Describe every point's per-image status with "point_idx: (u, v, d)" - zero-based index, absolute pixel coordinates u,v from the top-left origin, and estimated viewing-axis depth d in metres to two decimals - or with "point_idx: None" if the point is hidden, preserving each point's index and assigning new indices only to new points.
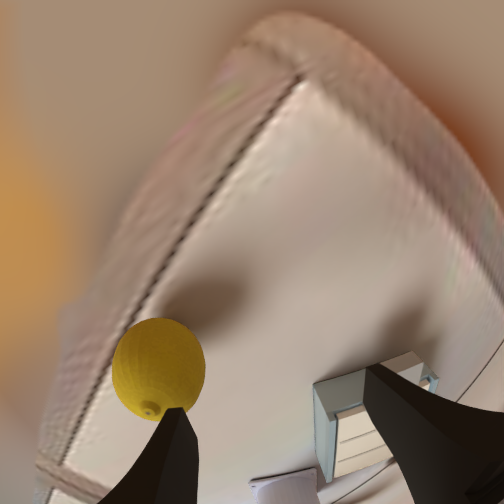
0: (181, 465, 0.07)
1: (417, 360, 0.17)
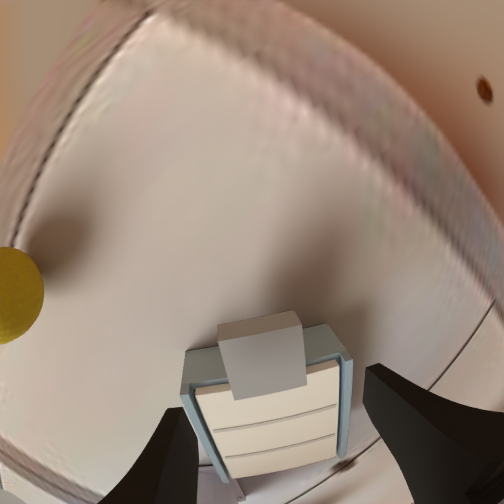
0: (181, 465, 0.07)
1: (293, 321, 0.14)
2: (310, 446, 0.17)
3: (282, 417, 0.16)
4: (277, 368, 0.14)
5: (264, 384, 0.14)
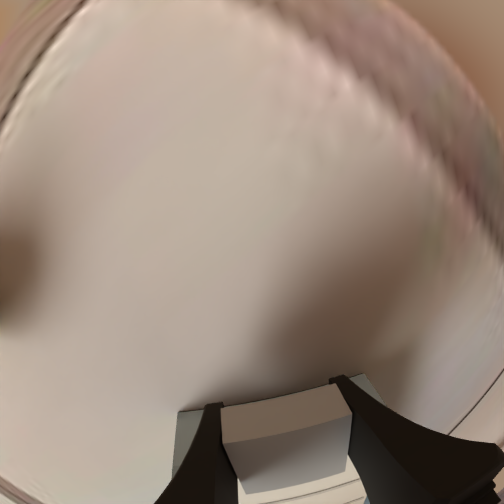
0: (227, 462, 0.07)
1: (338, 408, 0.08)
2: None
3: (305, 494, 0.10)
4: (308, 463, 0.08)
5: (288, 478, 0.08)
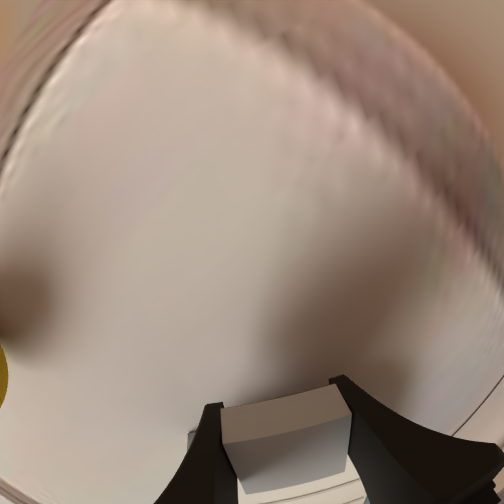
0: (226, 461, 0.07)
1: (338, 408, 0.08)
2: None
3: (305, 494, 0.10)
4: (308, 463, 0.08)
5: (288, 478, 0.08)
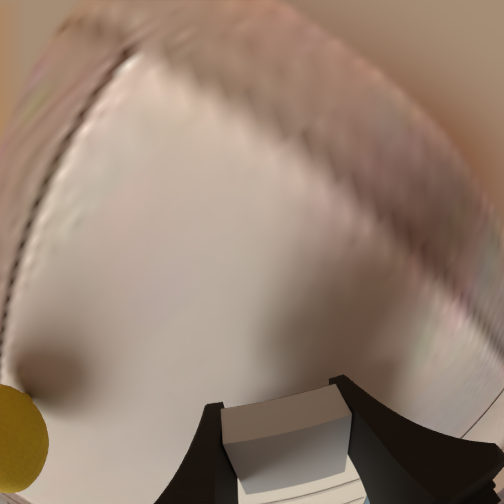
0: (226, 461, 0.07)
1: (338, 409, 0.08)
2: None
3: (304, 494, 0.10)
4: (308, 463, 0.08)
5: (288, 478, 0.08)
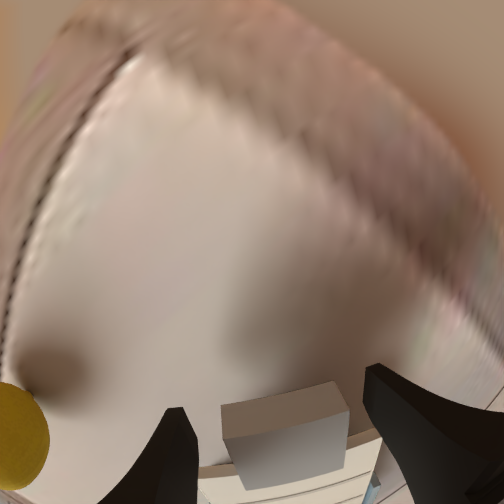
0: (181, 465, 0.07)
1: (336, 405, 0.08)
2: None
3: (304, 491, 0.11)
4: (307, 459, 0.08)
5: (287, 475, 0.08)
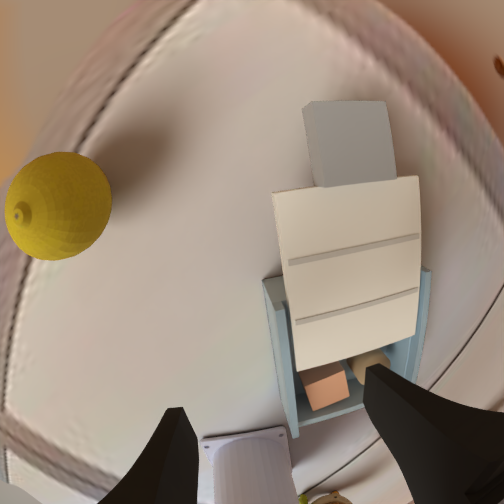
0: (181, 465, 0.07)
1: None
2: (393, 307, 0.16)
3: (368, 244, 0.15)
4: (368, 146, 0.12)
5: (357, 166, 0.13)
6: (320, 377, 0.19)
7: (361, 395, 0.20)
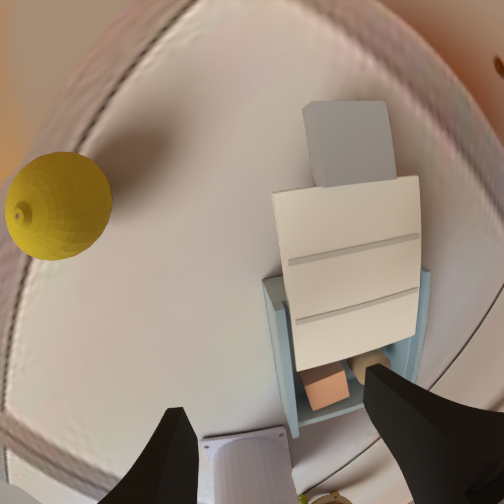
0: (181, 465, 0.07)
1: None
2: (393, 307, 0.16)
3: (368, 244, 0.15)
4: (368, 146, 0.12)
5: (357, 166, 0.13)
6: (320, 377, 0.19)
7: (361, 395, 0.20)
